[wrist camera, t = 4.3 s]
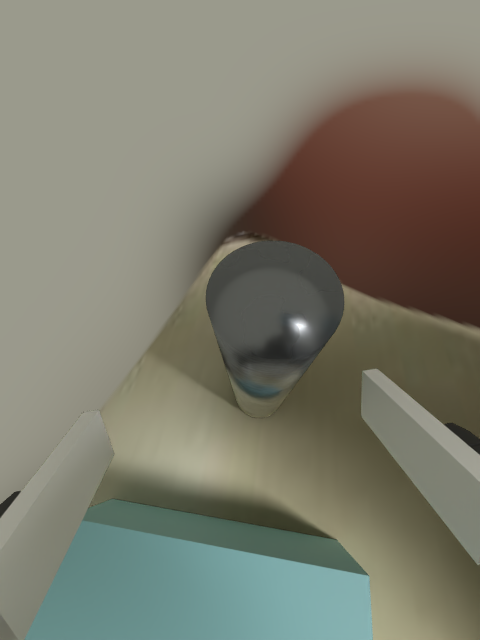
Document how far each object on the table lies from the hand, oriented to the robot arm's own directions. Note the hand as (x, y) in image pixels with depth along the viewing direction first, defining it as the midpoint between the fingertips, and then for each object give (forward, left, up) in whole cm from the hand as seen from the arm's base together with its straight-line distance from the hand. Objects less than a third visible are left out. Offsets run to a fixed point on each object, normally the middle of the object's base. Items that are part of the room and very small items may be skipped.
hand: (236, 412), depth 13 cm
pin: (-1, -3, -11) cm, 12 cm away
